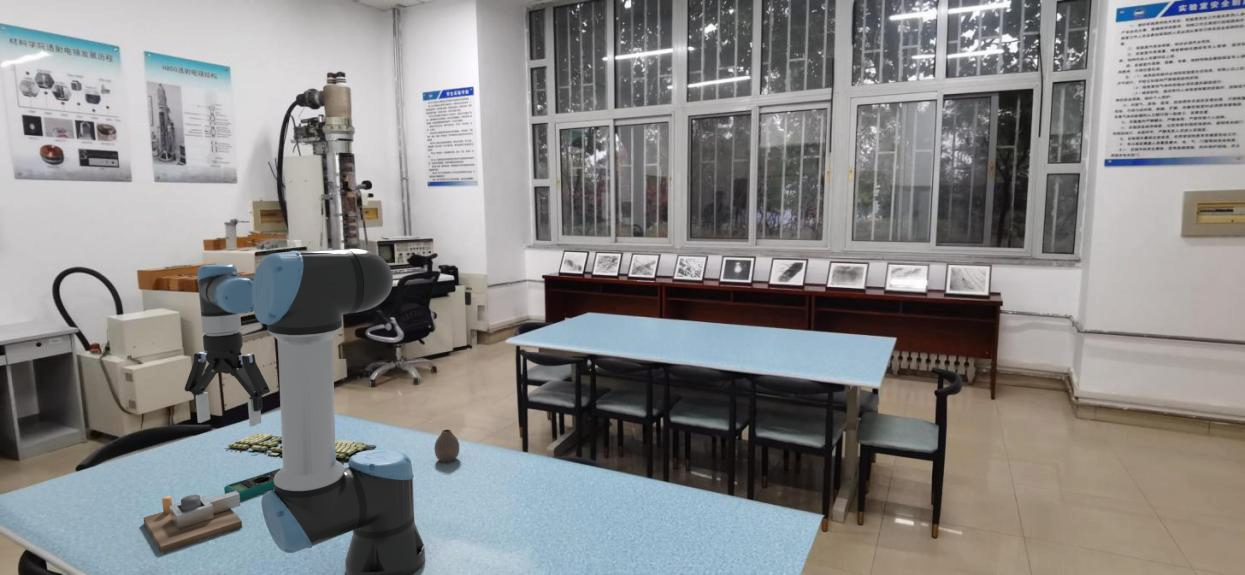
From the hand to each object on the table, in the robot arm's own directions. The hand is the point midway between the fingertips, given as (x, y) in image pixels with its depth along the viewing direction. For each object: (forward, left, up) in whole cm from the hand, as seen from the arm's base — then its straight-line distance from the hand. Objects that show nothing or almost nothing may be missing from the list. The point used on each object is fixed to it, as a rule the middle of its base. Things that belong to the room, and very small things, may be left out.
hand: (229, 422), depth 145 cm
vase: (-7, -52, -23) cm, 57 cm away
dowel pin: (+10, +11, -21) cm, 26 cm away
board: (+2, +8, -23) cm, 24 cm away
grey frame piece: (+2, +5, -21) cm, 22 cm away
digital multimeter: (+12, -8, -23) cm, 28 cm away
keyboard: (+33, -25, -24) cm, 47 cm away
